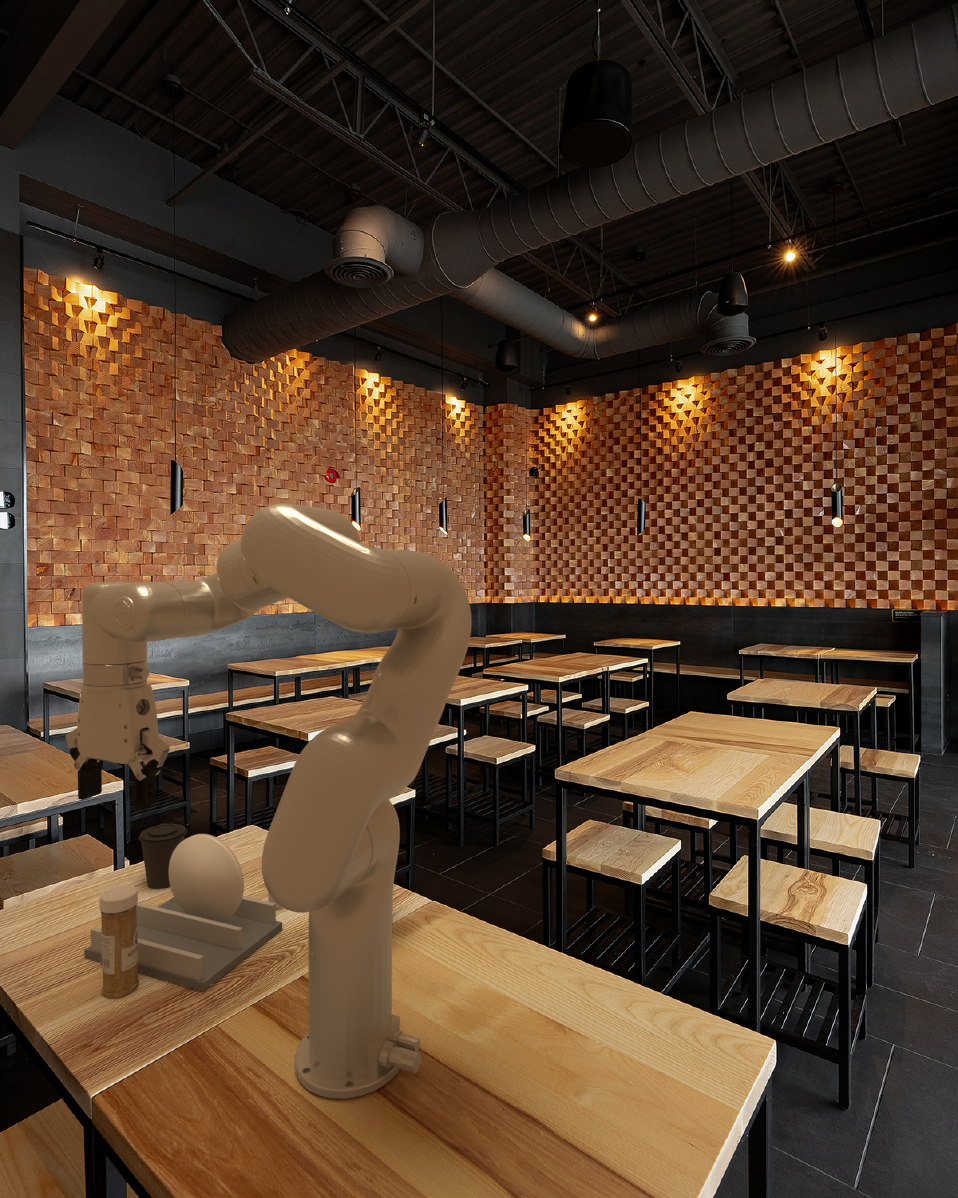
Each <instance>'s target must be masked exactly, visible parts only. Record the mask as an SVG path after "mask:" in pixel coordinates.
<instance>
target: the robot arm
mask: <svg viewBox="0 0 958 1198" xmlns="http://www.w3.org/2000/svg"><path fill="white" fill-rule="evenodd" d="M458 577H459V576H457V575H456V573H455V572H454V571H453V570H452V568H450V567H449V566H448V565H447V564H446V563H444V562H443V560H441V559H439V558H437V557H436V556H433V555H431V554H429V553H425V552H422V551H418V550H411V549H410V550H409V549H392V548H391V549H390V548H389V549H388V548H372V547H371V546H367V545H365V544H363V543H362V542H361V538H360V535H359V532H358V531H357V529H356V527H355V525H354V524H353V523H352V522H351V520H349V519H348V517H345V515H343V514H341V513H339V512H337V511H334V510H332V509H328V508H325V507H324V508H322V507H315V506H310V505H309V506H308V505H302V504H294V503H287V502H283V503H274V504H271V505H268V506H266V507H263V508H261V509H260V510H258V511H257V512H255V513H254V514H253V515H252V516H251V517H250V518H249V519H248V520H247V522H246V524H245V525H244V528H243V531H242V533H241V538H240V539H239V540H236V541H234V542H232V543H229V544H227V545H226V546H225V547H224V548H222V550H221V552H220V553H219V555H218V557H217V561H216V573H214V574H211V575H209V576H206V577H204V578H200V579H197V580H169V581H168V580H167V581H165V580H163V581H142V582H140V581H139V582H131V581H97V582H96V581H95V582H91V583H88V584H87V585H85V586H84V588H83V589H82V593H81V618H82V619H81V620H82V621H81V622H82V624H81V625H82V628H81V633H82V634H81V635H82V636H81V637H82V638H81V640H82V686H81V690H80V695H79V700H78V701H79V702H78V711H77V724H76V727H77V728H75V729H73V730H71V731H70V732H67V733H65V740H66V744H67V745H68V748H69V755H70V756H71V758H72V760H73V761H74V764H73V767H74V769H75V770H76V771H77V799H78V800H81V801H85V800H87V799H89V798H92V797H97V795H98V796H99V795H100V794H102V793H103V786H102V783H103V781H102V780H103V777H102V776H103V775H102V771H103V770H102V769H103V768H102V764H98V763H100V761H103V762H109V763H116V764H122V765H123V764H124V765H128V766H129V767H130V770H131V771H132V772H133V774H134V776H135V778H134V779H132V789H131V790H132V791H131V792H132V793H131V794H132V809H133V810H134V811H140V810H142V809H145V808H148V807H150V806H152V805H155V803H156V800H157V799H156V796H157V795H156V793H157V792H156V788H157V787H156V784H157V782H156V778H157V777H156V776H157V775H159V774H160V772H161V769H162V768H163V767H164V765H166V760H167V757H168V755H169V752H170V746H169V745H168V744H167V743H166V742H165V741H164V740H163V739H162V738H160V737H159V736H160V735H159V724H158V711H157V706H156V701H155V700H156V699H155V695H154V690H153V687H152V685H151V684H149V683H148V678H149V675H150V671H149V670H148V654H147V653H148V643H149V642H150V643H151V642H156V641H157V642H159V641H165V640H173V639H179V638H180V639H181V638H189V637H197V636H202V635H206V634H209V633H213V632H216V631H218V630H221V629H222V630H223V629H225V628H227V627H230V626H232V625H235V624H238V623H240V622H243V621H245V620H248V619H249V618H251V617H252V616H254V615H255V614H257V613H258V612H260V610H261V609H263V608H266V607H268V606H271V605H273V604H277V603H278V602H281V601H285V600H287V599H290V600H292V601H294V602H296V603H298V604H299V605H301V606H303V607H304V608H305V609H308V610H310V611H312V612H313V613H316V614H317V615H318V616H321V617H322V618H324V619H326V620H328V621H330V623H331V622H332V623H333V624H335V625H337V626H339V627H341V628H344V629H347V630H350V631H352V632H357V633H361V634H377V633H382V632H386V631H392V630H393V631H394V630H397V632H396V635H395V638H394V640H393V642H392V643H391V645H390V646H389V647H388V650H387V651H386V652H385V654H384V655H383V657H382V659H381V660H380V662H379V663H378V665H377V668H376V669H375V671H374V673H373V678H372V680H371V683H370V686H369V688H368V691H367V693H366V695H365V697H364V700H363V702H362V704H361V706H360V708H358V711H356V713H355V714H353V715H352V716H351V717H349V718H348V719H347V720H343V721H341V722H338V723H336V724H333V725H330V726H329V727H327V728H325V729H323V730H321V731H320V732H319V733H317V734H316V735H314V736H313V738H311V740H310V741H309V742H308V743H307V744H306V745H305V746H304V748H303V749H302V750H301V751H300V752H299V753H300V754H299V756H298V757H297V758H296V760H295V762H294V765H293V767H292V770H291V772H290V774H289V777H288V780H287V783H286V784H285V788H284V790H283V793H282V796H281V797H280V801H279V804H278V806H277V808H276V811H275V814H274V817H273V819H272V821H271V823H270V826H269V829H268V831H267V835H266V837H265V841H264V844H263V849H262V854H261V874H262V880H263V883H264V885H265V888H266V890H267V892H268V895H269V894H270V896H271V897H272V898H273V900H274V901H275V902H276V903H277V904H278V905H280V906H281V907H283V908H284V909H286V910H287V911H289V912H294V913H300V914H303V913H308V1033H307V1034H305V1036H304V1037H303V1038H302V1039H301V1040H300V1041H299V1042H300V1043H299V1044H298V1046H297V1048H296V1051H295V1054H294V1071H295V1074H296V1077H297V1080H298V1081H299V1082H300V1084H301V1085H302V1086H303V1087H304V1088H305V1089H306V1090H308V1091H310V1092H311V1093H313V1094H315V1095H318V1096H321V1097H325V1098H329V1099H342V1100H343V1099H352V1098H356V1097H357V1096H358V1097H361V1096H365V1095H367V1094H370V1093H373V1092H375V1091H377V1090H378V1089H380V1088H382V1087H383V1086H385V1085H386V1084H387V1083H389V1082H390V1081H391V1080H393V1078H394V1077H395V1076H396V1075H397V1074H398V1073H399V1072H400V1070H402V1071H406V1072H409V1073H413V1074H417V1072H418V1071H419V1068H420V1066H421V1062H422V1054H421V1053H420V1052H418V1051H419V1050H420V1045H421V1039H420V1038H418V1037H414V1036H411V1035H405V1034H403V1031H402V1030H401V1027H400V1026H401V1017H400V1016H399V1015H397V1014H392V1013H393V1012H392V1010H393V1008H392V1005H393V1002H392V1000H393V998H392V997H393V983H392V982H393V906H394V905H393V900H394V882H395V873H396V868H397V867H396V866H397V862H398V856H399V849H400V839H401V836H400V834H401V832H400V830H401V829H400V821H399V816H398V813H397V811H396V809H395V807H394V805H393V803H392V801H391V799H392V798H394V797H395V796H397V795H398V794H400V793H401V792H402V791H403V790H405V789H406V788H407V787H408V786H409V785H410V784H412V782H413V781H414V780H415V779H416V777H417V775H418V773H419V770H420V769H421V766H422V763H423V761H424V757H425V755H426V753H427V751H428V747H429V745H430V744H431V741H432V738H433V736H434V733H435V732H436V729H437V727H438V724H439V722H440V720H441V717H442V715H443V713H444V709H445V706H446V703H447V701H448V699H449V696H450V694H451V692H452V689H453V687H454V684H455V682H456V679H457V677H458V675H459V673H460V670H461V668H462V665H463V663H464V661H465V658H466V654H467V652H468V648H469V644H470V639H471V633H472V610H471V606H470V605H471V604H470V601H469V598H468V595H467V592H466V589H465V588H464V586H463V584H462V581H461V580H460V579H459V578H458ZM141 762H143V764H144V767H143V766H142V764H141Z"/></svg>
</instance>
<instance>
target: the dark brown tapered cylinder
mask: <svg viewBox="0 0 958 1198" xmlns="http://www.w3.org/2000/svg"><path fill="white" fill-rule="evenodd" d="M187 833H188V828H186V827H185V826H184V825H182V824H179V823H177V824H176V823H167V822H164V823H160V824H158V825H154V826H150V827H148V828H146V829H144V830H142V831H141V832H140V833H139V835H138V837H137V838H138V839H137V840H139V842H140V843H141V849H142V857H143V863H144V870H145V871H144V872H145V876H146V877H145V878H146V885H147V887H148V888H149V889H153V890H163V889H168V888H171V887H170V882H169V863H170V859H171V856H172V854H173V852H174V850H175V848H176V847H177V846H178V844H180V843H181V842H182V841H183V840H185V836H186V835H187Z"/></svg>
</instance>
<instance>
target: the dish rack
mask: <svg viewBox="0 0 958 1198" xmlns="http://www.w3.org/2000/svg"><path fill="white" fill-rule="evenodd" d="M169 882H170V887H169V888H170V890H171V892H172V893H171V894H172V896H173V897H172V898H170V899H169V900H167V901H165V902H164V903H162V904H160V905H158V906H154V905H152V904H151V905H150V904H146V903H142V902H137V906H136V913H137V915H136V916H137V938H138V961H137V963H138V975H139V974H140V975H143V976H147V977H151V978H153V979H158V980H161V981H164V982H167V981H168V983H170V982H172V983H171V984H173V985H174V984H175V985H177V984H181V985H184V986H186V987H185V988H188V989H191V988H194V989H197V990H196V991H198V990H200V991H199V992H201V991H204V990H205V991H207V990H208V989H209V988H210V987H211V986H210V985H211V984H213V983H214V982H216V981H217V980H218V981H220V980H221V979H222V978H223V977H224V976H226V975H227V974H228V973H230V972H231V971H232V970H233V969H235V968H236V967H237V966H238V965H240V964H241V963H242V962H243V961H244V960H246V959H248V957H250V956H251V955H252V954H253V953H255V952H256V951H257V950H259V949H260V948H261V947H263V946H264V945H265V944H267V942H269V941H270V940H271V939H273V938H274V937H276V935H278V933H280V932H282V931H283V922H282V921H277V915H276V914H277V910H276V903H272V902H269V901H267V900H263V899H262V900H261V899H259V898H253V897H249V896H245V895H244V892H245V884H244V883H245V881H244V875H243V870H242V867H241V865H240V862H239V860H238V858H237V856H236V855H235V853H234V852H233V851H232V849H231V847H229V846H228V845H227V843H225V842H224V841H223V840H221V839H220V838H218V837H216V836H214V835H212V834H207V833H197V834H194V835H191V836H189V837H187V838H184V840H183V841H182V842H181V843H180V844H178V846H177V847H176V848H175V850H174V852H173V854H172V856H171V859H170V863H169ZM101 930H102V927H101V928H100V927H96V926H95V927H93V928H91V929H90V946H88V947H86V948H84V949H83V950H84V951H83V953H84V954H83V955H84V958H85V959H89V960H92V961H94V962H95V961H96V962H98V963H102V953H101ZM222 976H223V977H222ZM221 977H222V978H221ZM220 978H221V979H220ZM218 981H217V982H218ZM217 982H216V983H217ZM214 984H215V983H214ZM214 984H213V985H214ZM181 985H180V986H181ZM184 986H183V987H184ZM209 986H210V987H209ZM208 987H209V988H208ZM207 988H208V989H207ZM194 989H193V990H194ZM206 989H207V990H206ZM205 991H204V992H205Z"/></svg>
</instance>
